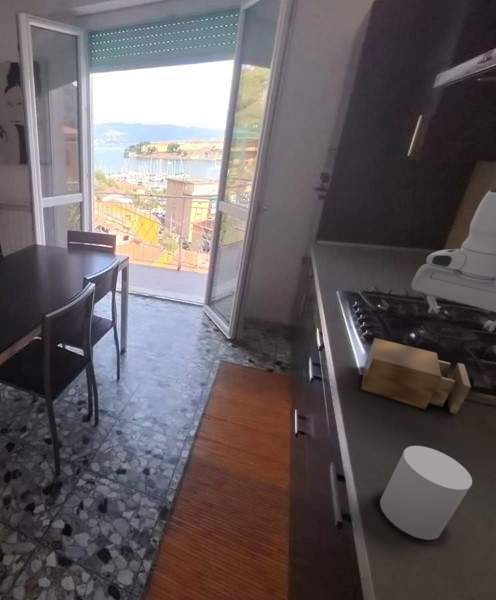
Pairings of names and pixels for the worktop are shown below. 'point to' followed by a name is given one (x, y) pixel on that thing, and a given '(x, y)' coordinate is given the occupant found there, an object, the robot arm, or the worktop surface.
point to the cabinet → (401, 373)
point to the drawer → (451, 387)
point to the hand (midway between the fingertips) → (459, 321)
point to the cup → (424, 492)
